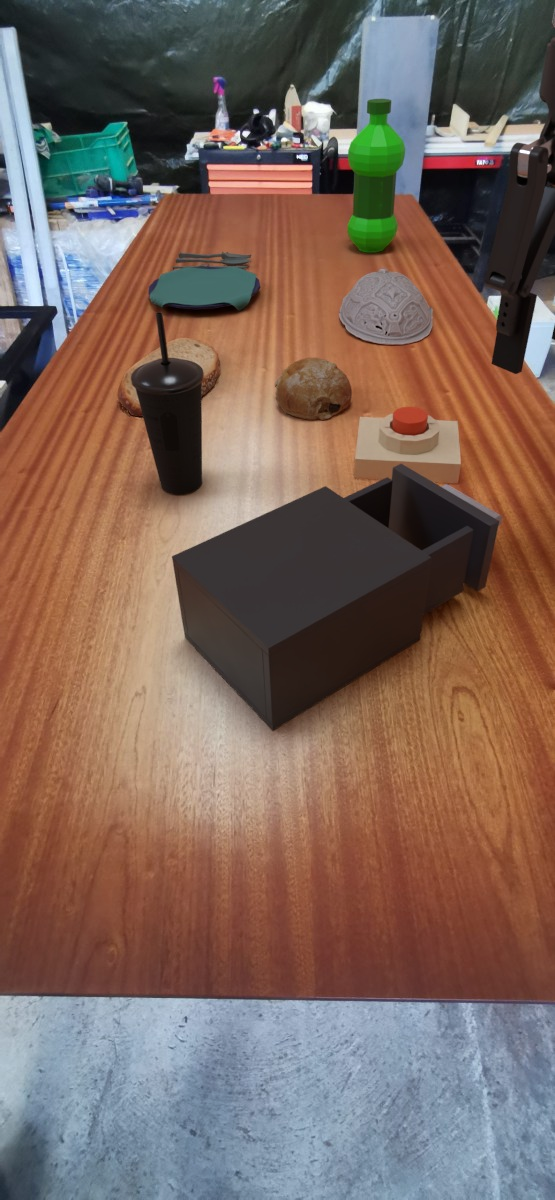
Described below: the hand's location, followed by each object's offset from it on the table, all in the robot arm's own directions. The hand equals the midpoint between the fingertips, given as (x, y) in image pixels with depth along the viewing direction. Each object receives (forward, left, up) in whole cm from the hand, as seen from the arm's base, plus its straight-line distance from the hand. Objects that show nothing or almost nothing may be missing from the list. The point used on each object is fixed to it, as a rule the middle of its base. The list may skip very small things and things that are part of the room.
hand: (537, 354), depth 66 cm
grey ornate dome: (+14, -58, -19) cm, 63 cm away
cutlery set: (+47, -70, -19) cm, 86 cm away
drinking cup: (+36, -5, -19) cm, 41 cm away
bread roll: (+23, -26, -19) cm, 40 cm away
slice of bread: (+44, -31, -19) cm, 57 cm away
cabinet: (+19, +19, -19) cm, 33 cm away
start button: (+10, -13, -15) cm, 22 cm away
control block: (+10, -13, -19) cm, 25 cm away
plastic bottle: (+18, -93, -19) cm, 97 cm away
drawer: (+11, +11, -18) cm, 24 cm away
